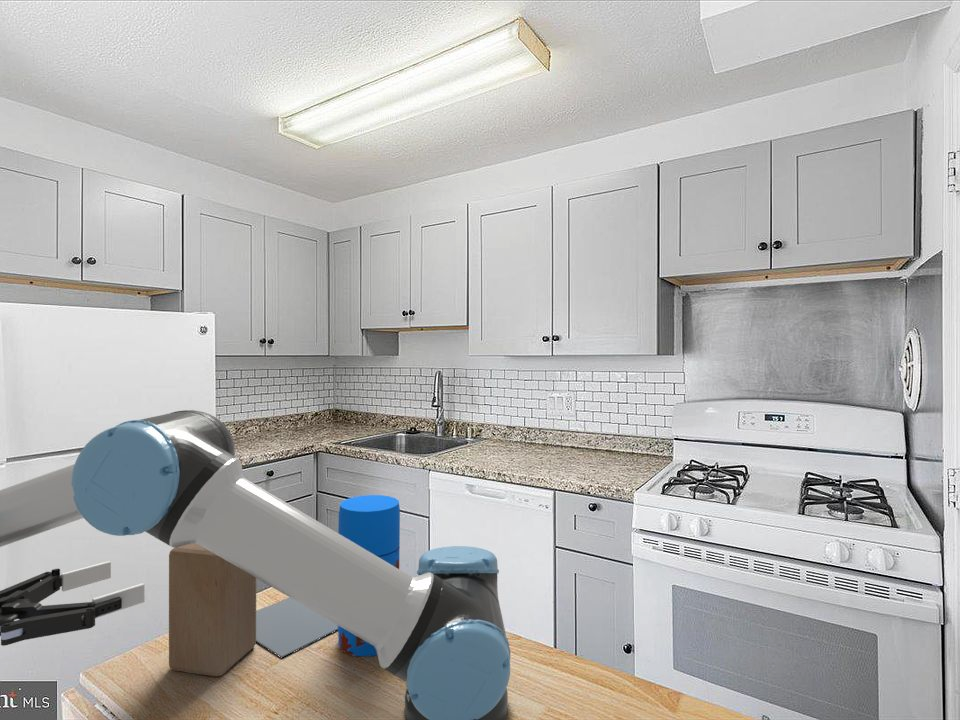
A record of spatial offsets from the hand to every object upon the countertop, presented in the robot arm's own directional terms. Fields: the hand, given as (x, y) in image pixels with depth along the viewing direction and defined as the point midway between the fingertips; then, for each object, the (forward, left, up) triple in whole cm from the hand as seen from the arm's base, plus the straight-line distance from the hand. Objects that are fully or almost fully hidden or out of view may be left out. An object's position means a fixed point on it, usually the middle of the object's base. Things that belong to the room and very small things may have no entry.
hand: (126, 580), depth 86 cm
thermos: (-23, -31, -15) cm, 41 cm away
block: (-7, -11, -15) cm, 20 cm away
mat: (-7, -28, -15) cm, 33 cm away
